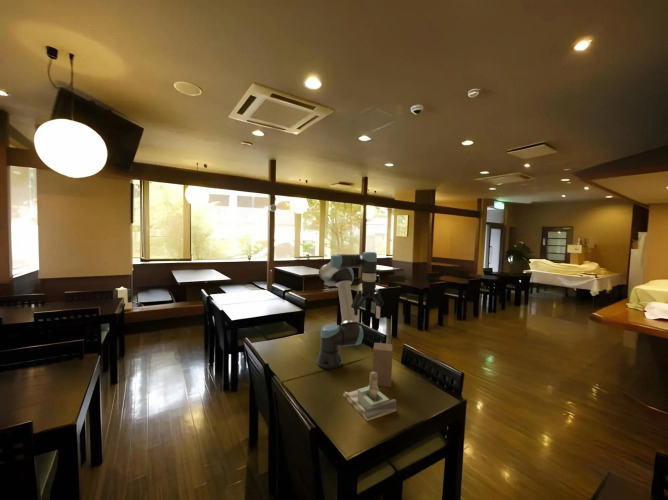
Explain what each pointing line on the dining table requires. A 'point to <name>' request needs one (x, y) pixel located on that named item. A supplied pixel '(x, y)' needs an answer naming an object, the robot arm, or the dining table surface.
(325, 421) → the dining table surface
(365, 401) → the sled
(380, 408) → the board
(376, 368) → the wooden block
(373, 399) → the dowel
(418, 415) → the dining table surface
